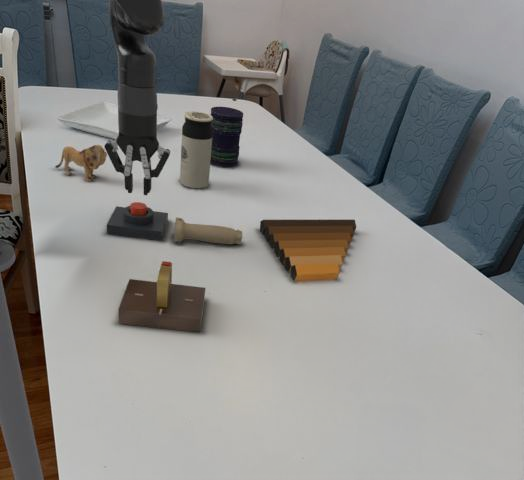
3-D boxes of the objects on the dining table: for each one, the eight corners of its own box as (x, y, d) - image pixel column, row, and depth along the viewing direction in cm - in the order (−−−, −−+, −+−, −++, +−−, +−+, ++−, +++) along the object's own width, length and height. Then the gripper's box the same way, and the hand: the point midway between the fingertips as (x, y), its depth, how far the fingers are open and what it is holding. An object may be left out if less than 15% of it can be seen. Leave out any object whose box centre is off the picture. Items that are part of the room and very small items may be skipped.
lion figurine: (111, 178, 133) (109, 144, 128) (101, 185, 129) (99, 149, 124) (60, 166, 135) (56, 131, 129) (49, 172, 130) (45, 137, 125)
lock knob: (167, 307, 86) (168, 279, 82) (156, 306, 86) (157, 278, 82) (171, 289, 91) (172, 261, 87) (161, 288, 90) (162, 260, 87)
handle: (240, 253, 113) (174, 246, 110) (238, 240, 118) (174, 232, 114) (244, 234, 110) (176, 225, 107) (241, 221, 115) (176, 213, 111)
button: (128, 215, 110) (128, 207, 109) (131, 208, 113) (131, 201, 112) (145, 217, 110) (145, 209, 109) (147, 210, 113) (147, 203, 112)
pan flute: (348, 228, 131) (259, 229, 123) (351, 216, 129) (261, 216, 120) (395, 278, 113) (295, 283, 105) (400, 265, 111) (298, 269, 103)
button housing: (107, 234, 109) (106, 217, 107) (116, 215, 117) (115, 198, 115) (162, 240, 111) (162, 224, 108) (167, 221, 118) (168, 205, 116)
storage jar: (223, 170, 151) (230, 106, 140) (200, 159, 155) (204, 97, 144) (244, 164, 158) (251, 103, 146) (220, 154, 161) (226, 94, 150)
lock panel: (118, 324, 85) (118, 309, 83) (129, 292, 93) (129, 277, 91) (200, 332, 87) (201, 318, 85) (204, 300, 95) (205, 286, 93)
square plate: (103, 111, 179) (102, 99, 176) (172, 129, 175) (173, 117, 172) (56, 128, 158) (55, 114, 156) (133, 148, 154) (133, 135, 151)
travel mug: (205, 178, 143) (210, 112, 132) (210, 189, 137) (216, 121, 126) (178, 177, 141) (180, 109, 130) (181, 188, 135) (185, 118, 124)
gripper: (96, 107, 94) (101, 195, 105) (170, 118, 96) (168, 204, 107) (105, 98, 100) (109, 182, 111) (175, 109, 102) (172, 190, 112)
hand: (138, 192), depth 109 cm, fingers closed
